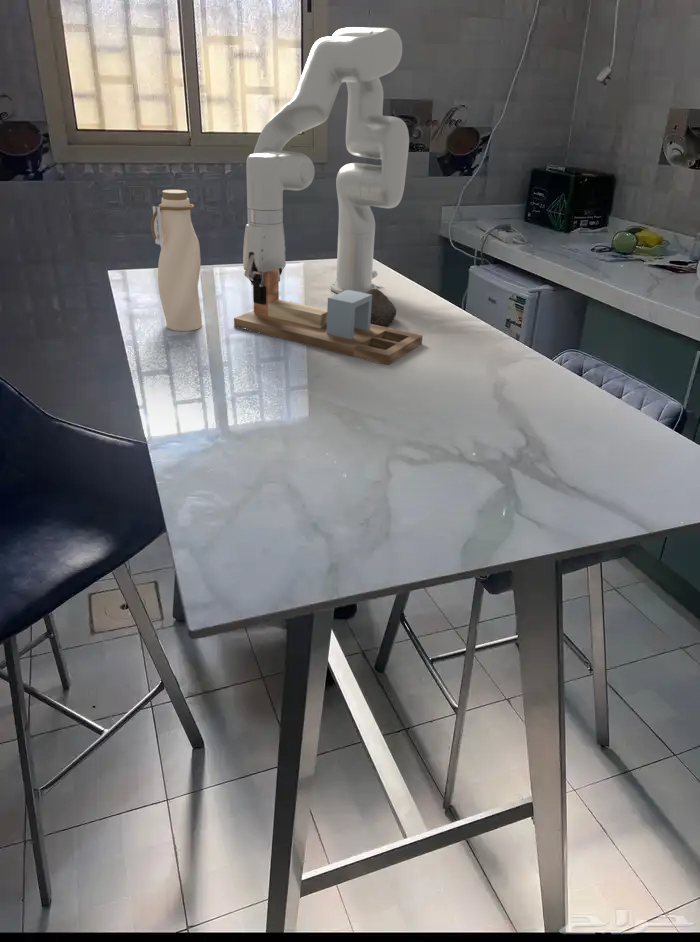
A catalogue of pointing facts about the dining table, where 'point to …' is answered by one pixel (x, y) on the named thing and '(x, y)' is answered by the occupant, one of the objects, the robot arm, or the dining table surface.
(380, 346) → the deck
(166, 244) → the water bottle
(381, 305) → the stone
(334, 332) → the tunnel
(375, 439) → the dining table surface
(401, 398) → the dining table surface
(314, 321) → the l-shaped wooden block
